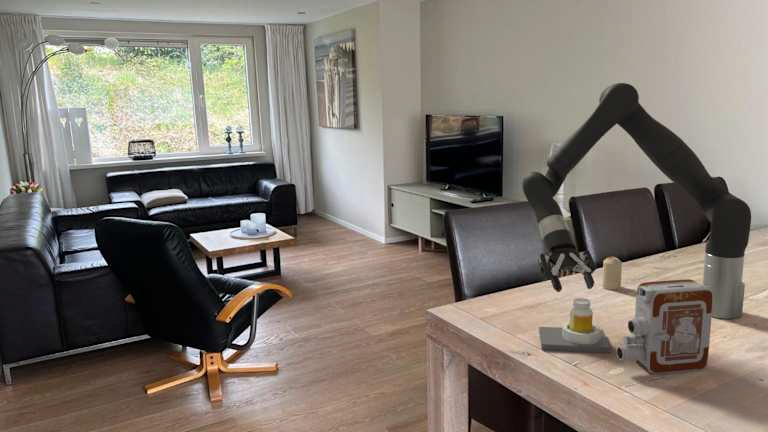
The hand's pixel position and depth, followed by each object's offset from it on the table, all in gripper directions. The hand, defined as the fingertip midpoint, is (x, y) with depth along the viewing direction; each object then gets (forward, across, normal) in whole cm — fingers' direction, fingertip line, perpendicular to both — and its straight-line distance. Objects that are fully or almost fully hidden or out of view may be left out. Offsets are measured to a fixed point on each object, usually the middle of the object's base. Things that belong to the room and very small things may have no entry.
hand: (575, 289), depth 144 cm
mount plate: (+11, -2, +7) cm, 13 cm away
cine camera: (+24, +10, -5) cm, 26 cm away
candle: (-14, +29, +32) cm, 45 cm away
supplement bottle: (+11, 0, +6) cm, 12 cm away
